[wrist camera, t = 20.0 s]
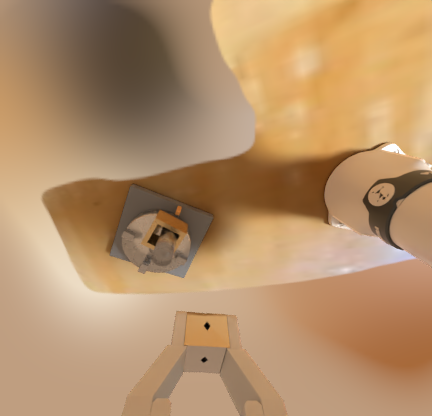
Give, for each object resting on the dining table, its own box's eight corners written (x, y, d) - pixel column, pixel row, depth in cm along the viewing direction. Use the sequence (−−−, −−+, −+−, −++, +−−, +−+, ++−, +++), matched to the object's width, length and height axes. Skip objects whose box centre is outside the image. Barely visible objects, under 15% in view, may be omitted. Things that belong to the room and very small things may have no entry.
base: (213, 214, 42) (213, 223, 38) (184, 273, 48) (182, 286, 44) (132, 183, 39) (125, 190, 35) (112, 251, 44) (104, 263, 41)
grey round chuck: (172, 271, 45) (168, 294, 39) (117, 247, 42) (103, 267, 36) (204, 225, 41) (204, 242, 35) (145, 193, 38) (134, 207, 32)
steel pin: (168, 218, 37) (157, 246, 28) (182, 226, 37) (176, 255, 29) (160, 229, 37) (147, 260, 29) (174, 237, 38) (165, 269, 30)
